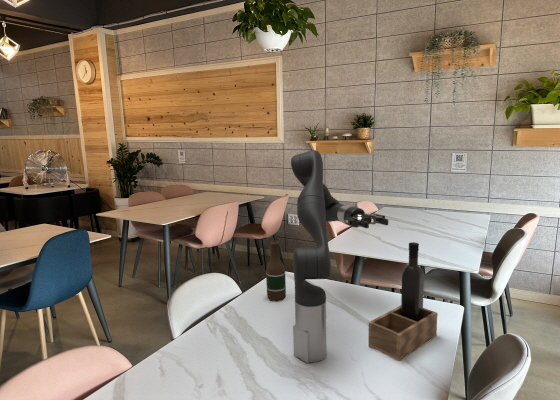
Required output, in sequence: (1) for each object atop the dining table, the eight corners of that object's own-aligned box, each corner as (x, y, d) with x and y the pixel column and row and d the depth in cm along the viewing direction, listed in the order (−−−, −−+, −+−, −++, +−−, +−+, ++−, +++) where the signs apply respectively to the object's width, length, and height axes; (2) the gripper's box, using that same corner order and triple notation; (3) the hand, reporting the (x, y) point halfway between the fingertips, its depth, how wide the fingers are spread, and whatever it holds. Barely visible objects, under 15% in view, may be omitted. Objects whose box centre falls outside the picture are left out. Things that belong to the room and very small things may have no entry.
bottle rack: (399, 361, 112) (399, 335, 110) (368, 346, 120) (368, 322, 119) (436, 335, 125) (437, 312, 123) (406, 323, 133) (406, 302, 132)
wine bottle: (406, 326, 129) (408, 240, 124) (423, 331, 126) (426, 242, 121) (399, 333, 125) (401, 244, 120) (416, 338, 121) (419, 247, 117)
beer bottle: (289, 297, 158) (288, 240, 154) (276, 303, 152) (274, 245, 148) (276, 292, 163) (274, 237, 159) (263, 298, 158) (260, 242, 154)
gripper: (335, 208, 146) (361, 215, 131) (366, 204, 152) (394, 211, 137) (335, 227, 147) (361, 237, 133) (366, 223, 153) (393, 231, 139)
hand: (377, 223), depth 135 cm, fingers open, 8 cm apart
